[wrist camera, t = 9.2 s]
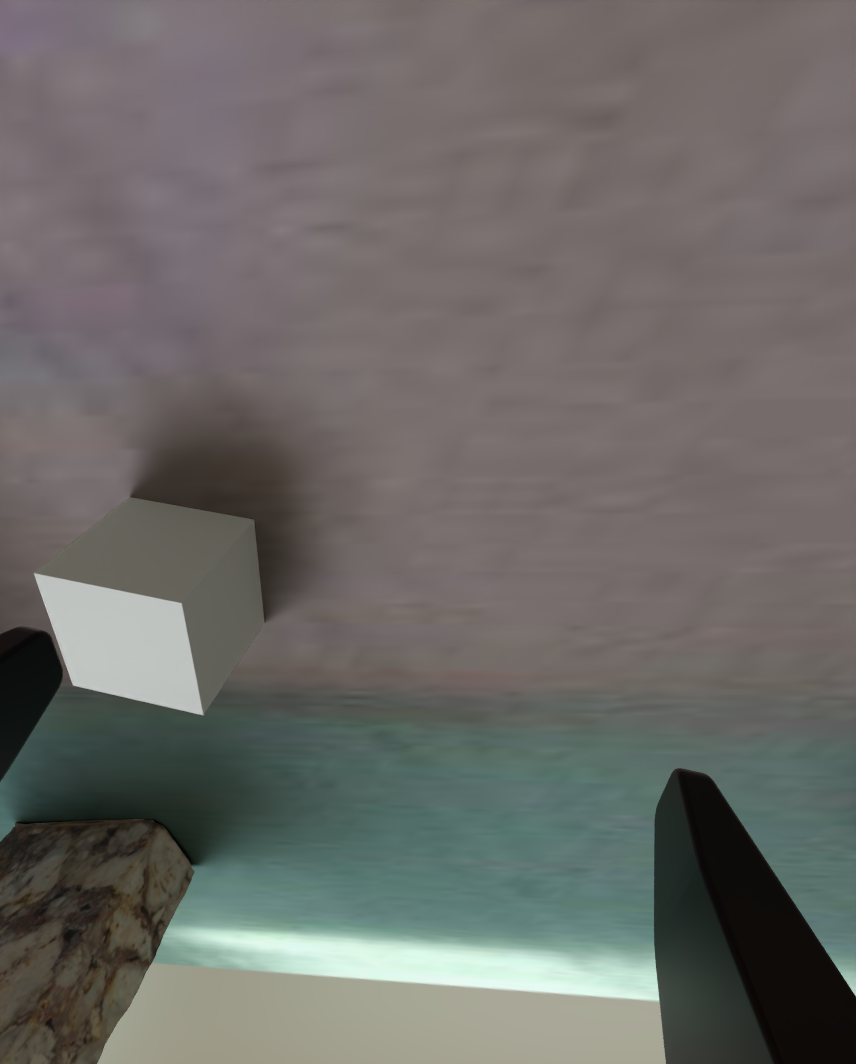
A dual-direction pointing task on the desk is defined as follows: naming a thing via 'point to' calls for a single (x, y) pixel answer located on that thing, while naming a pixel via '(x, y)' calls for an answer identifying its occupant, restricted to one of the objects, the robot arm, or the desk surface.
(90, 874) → the stone block
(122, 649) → the light grey cube
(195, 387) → the desk surface
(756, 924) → the robot arm
